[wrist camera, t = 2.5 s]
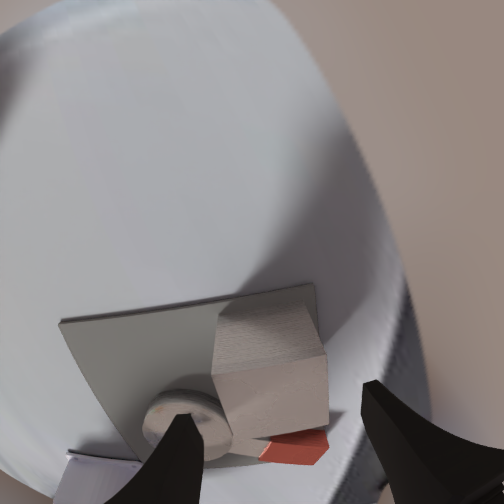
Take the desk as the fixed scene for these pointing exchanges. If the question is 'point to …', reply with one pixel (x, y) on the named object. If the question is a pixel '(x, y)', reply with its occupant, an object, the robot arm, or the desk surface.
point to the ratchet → (229, 430)
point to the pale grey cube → (270, 371)
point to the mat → (161, 358)
